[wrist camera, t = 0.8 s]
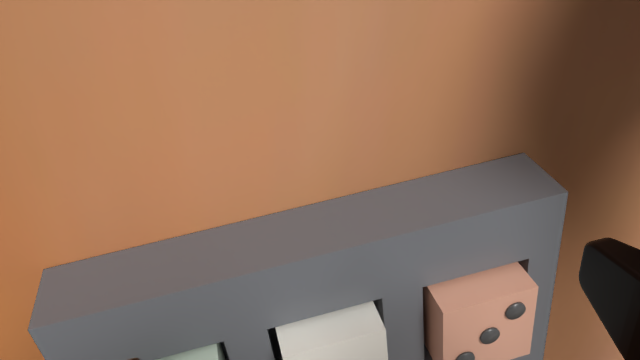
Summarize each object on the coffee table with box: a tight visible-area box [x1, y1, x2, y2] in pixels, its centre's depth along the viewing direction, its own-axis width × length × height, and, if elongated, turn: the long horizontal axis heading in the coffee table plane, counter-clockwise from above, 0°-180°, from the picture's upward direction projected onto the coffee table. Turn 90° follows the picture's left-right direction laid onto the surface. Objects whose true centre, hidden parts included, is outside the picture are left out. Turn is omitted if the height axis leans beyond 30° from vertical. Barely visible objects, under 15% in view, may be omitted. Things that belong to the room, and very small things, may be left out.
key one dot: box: [275, 301, 388, 360], centre depth 22 cm, size 4×4×2 cm
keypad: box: [28, 153, 568, 360], centre depth 23 cm, size 19×10×3 cm, turn 97°
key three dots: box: [422, 262, 538, 360], centre depth 23 cm, size 4×4×2 cm
